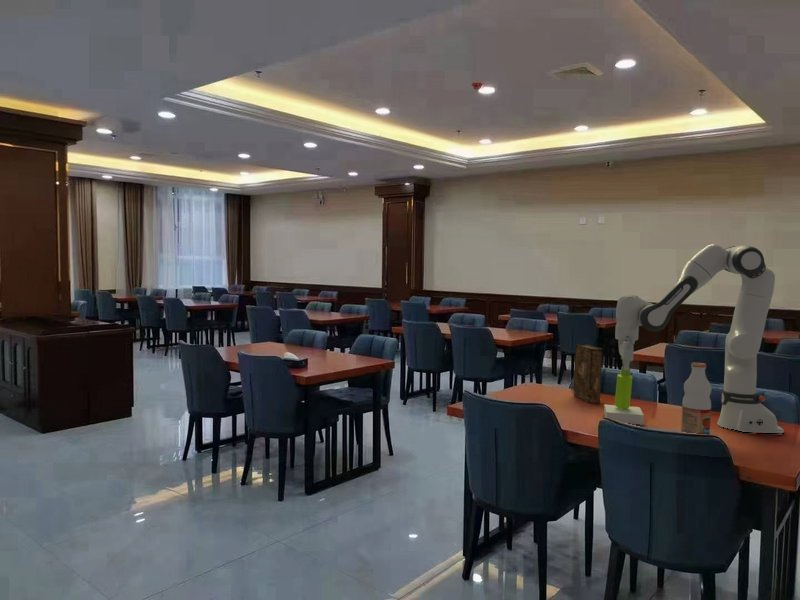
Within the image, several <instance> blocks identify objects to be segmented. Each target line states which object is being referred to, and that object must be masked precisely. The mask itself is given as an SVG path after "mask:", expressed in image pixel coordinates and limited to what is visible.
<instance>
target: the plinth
mask: <svg viewBox="0 0 800 600" xmlns="http://www.w3.org/2000/svg"><path fill="white" fill-rule="evenodd" d="M603 407H604V408H603V416H604V415H605V416H604V418H610V419H614V420H618V421H621V422H627V423H631V424H630V425H636V424H640V425H639V426H644V423H645V422H644V420H645V419H644V418H645V414H644V413H643V411H642V409H641V407H639V406H631V405H630V407H629V408H627V409H623V408H618V407H616V406H615V404H605V403H604V404H603Z"/></svg>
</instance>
